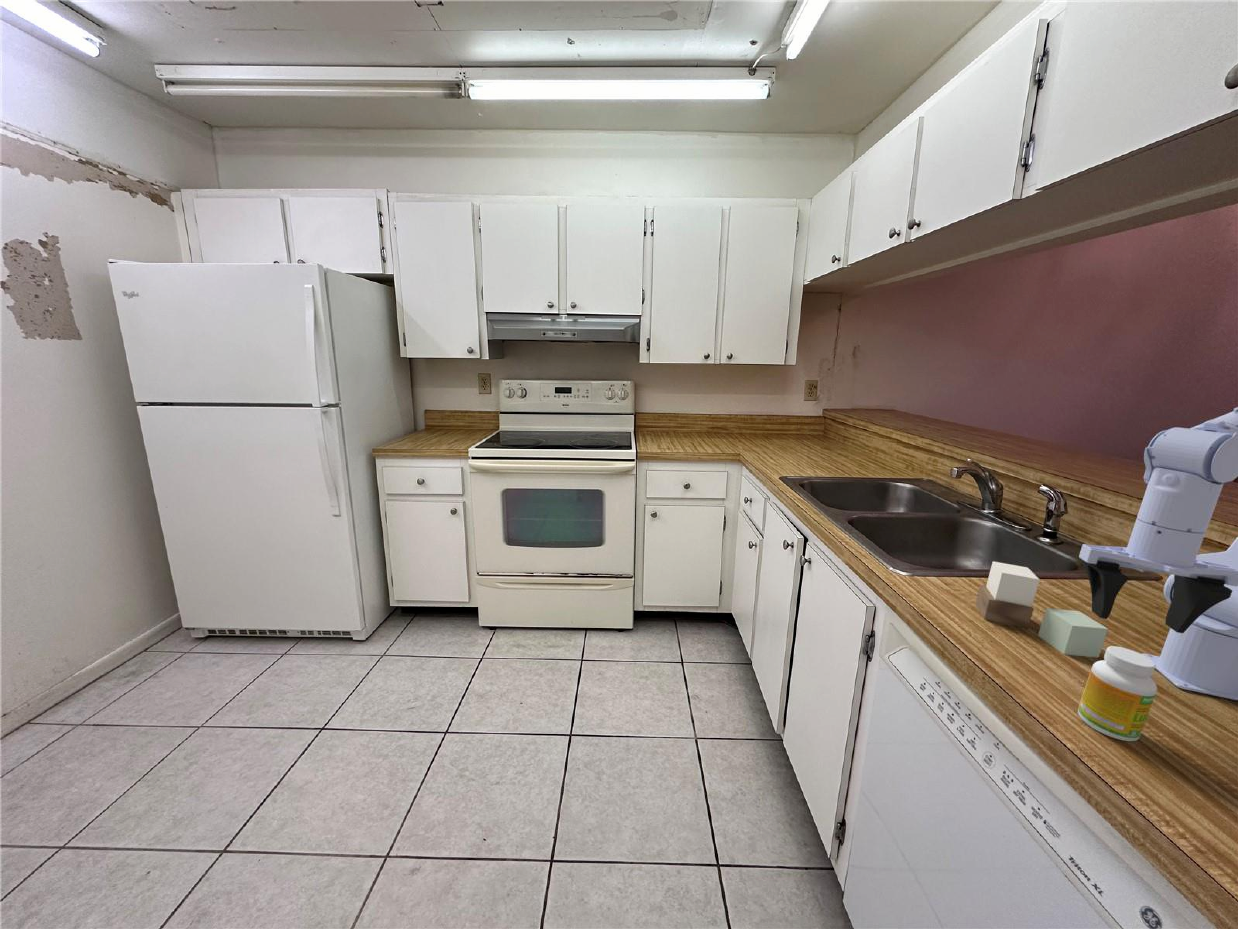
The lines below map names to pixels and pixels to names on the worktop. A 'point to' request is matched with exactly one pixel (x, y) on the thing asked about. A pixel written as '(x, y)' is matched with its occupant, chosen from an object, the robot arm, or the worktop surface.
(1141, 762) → the worktop surface
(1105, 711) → the supplement bottle
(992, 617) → the walnut block
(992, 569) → the cream cube
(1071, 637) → the sage cube
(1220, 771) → the worktop surface
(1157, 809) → the worktop surface
